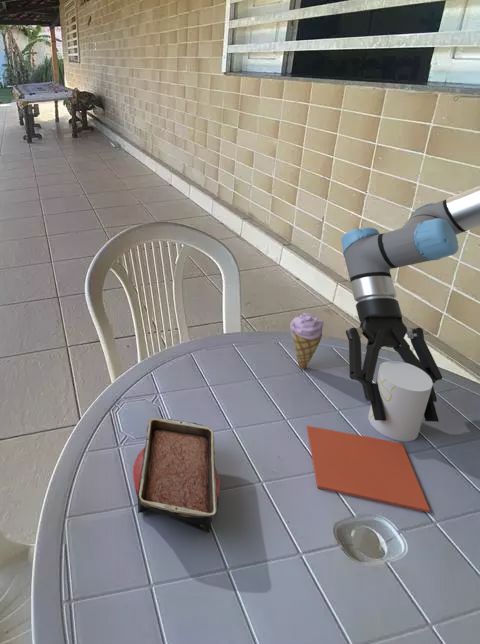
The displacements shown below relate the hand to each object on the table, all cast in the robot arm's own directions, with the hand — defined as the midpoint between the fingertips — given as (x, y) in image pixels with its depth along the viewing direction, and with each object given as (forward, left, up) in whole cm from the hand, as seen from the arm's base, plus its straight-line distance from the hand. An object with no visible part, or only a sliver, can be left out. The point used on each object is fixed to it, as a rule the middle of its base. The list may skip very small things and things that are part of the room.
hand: (406, 420), depth 79 cm
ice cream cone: (+16, -16, -4) cm, 23 cm away
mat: (+9, +9, -4) cm, 13 cm away
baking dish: (+40, +22, -4) cm, 45 cm away
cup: (+1, -3, -4) cm, 5 cm away
